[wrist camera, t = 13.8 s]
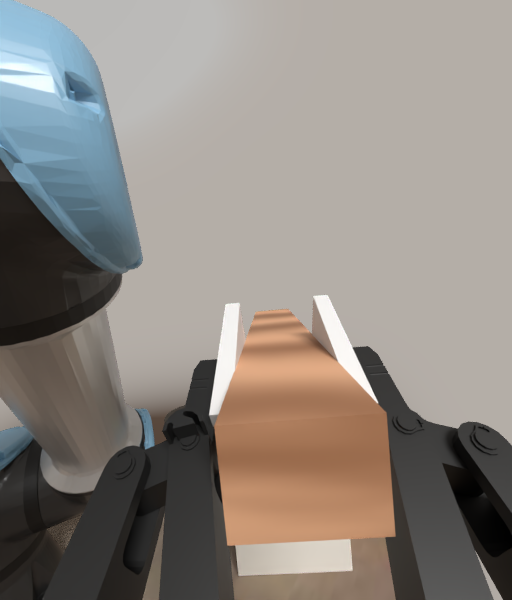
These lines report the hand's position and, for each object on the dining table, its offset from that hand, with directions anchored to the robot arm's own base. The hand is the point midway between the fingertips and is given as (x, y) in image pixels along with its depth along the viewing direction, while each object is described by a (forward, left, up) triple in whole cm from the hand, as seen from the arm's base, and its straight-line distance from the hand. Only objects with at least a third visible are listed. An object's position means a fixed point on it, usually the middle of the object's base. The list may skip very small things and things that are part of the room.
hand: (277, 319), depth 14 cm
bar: (-3, +3, -4) cm, 6 cm away
